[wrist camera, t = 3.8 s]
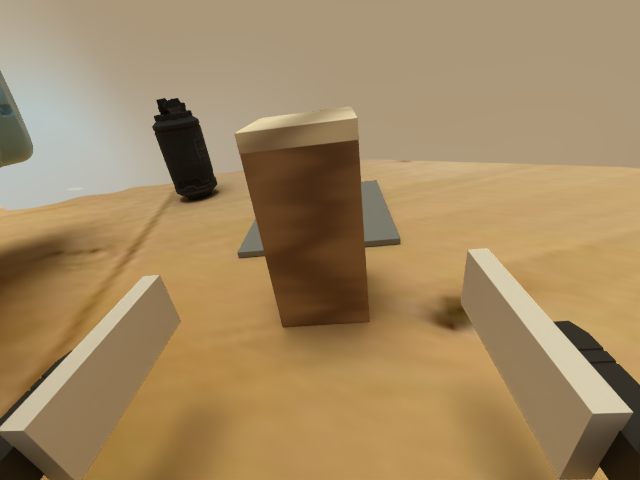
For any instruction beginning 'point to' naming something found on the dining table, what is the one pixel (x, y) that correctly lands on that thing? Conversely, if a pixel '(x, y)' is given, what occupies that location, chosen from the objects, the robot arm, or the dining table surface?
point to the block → (309, 213)
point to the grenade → (184, 150)
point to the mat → (374, 220)
